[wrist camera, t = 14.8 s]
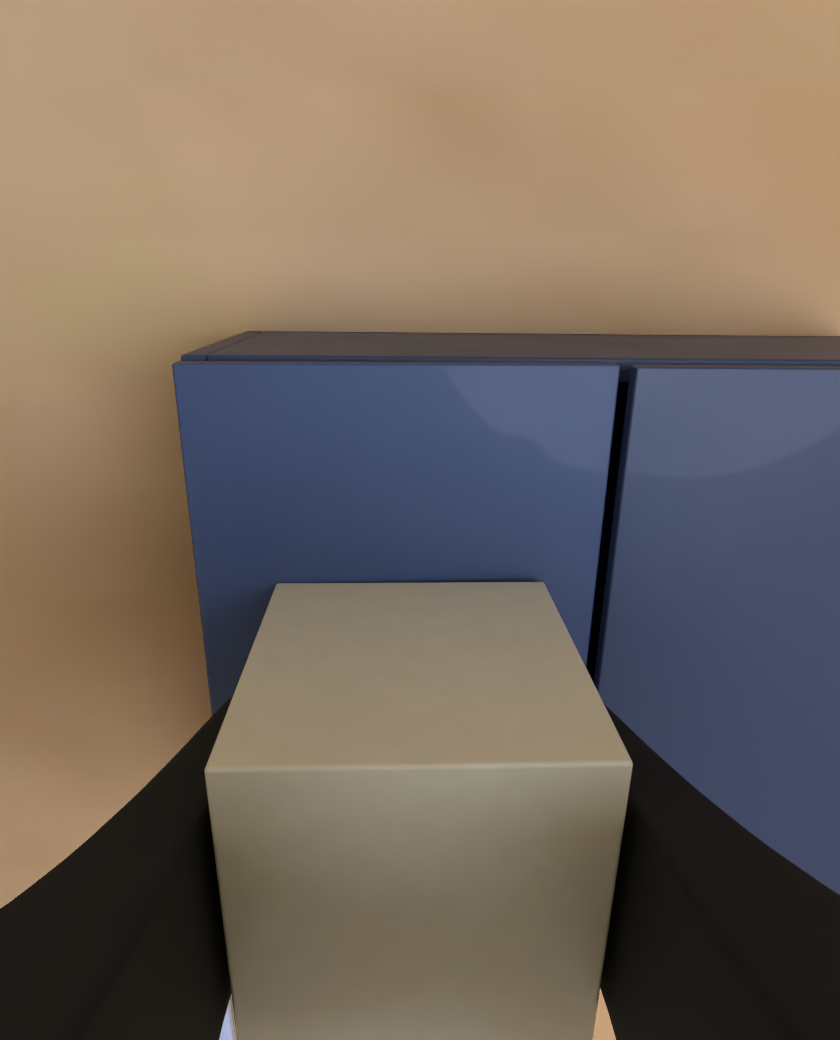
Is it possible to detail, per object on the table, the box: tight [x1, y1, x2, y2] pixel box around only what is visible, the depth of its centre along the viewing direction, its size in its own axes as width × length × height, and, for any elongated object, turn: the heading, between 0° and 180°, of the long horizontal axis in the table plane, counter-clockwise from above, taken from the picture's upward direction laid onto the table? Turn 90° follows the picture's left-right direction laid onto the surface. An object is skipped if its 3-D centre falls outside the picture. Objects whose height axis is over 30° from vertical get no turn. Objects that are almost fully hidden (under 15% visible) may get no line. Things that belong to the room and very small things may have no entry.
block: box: [204, 582, 633, 1040], centre depth 10 cm, size 4×4×4 cm
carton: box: [181, 331, 840, 895], centre depth 15 cm, size 12×14×6 cm
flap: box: [172, 361, 620, 716], centre depth 12 cm, size 12×7×1 cm, turn 179°
